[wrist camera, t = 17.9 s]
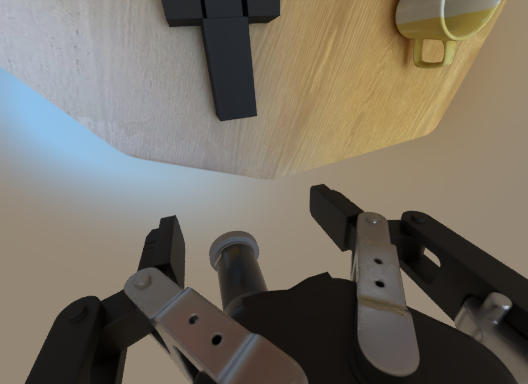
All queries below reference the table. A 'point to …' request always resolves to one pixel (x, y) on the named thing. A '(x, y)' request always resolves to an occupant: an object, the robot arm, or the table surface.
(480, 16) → the mug
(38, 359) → the robot arm
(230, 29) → the black stepped bar
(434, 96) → the table surface
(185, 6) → the notch pad
